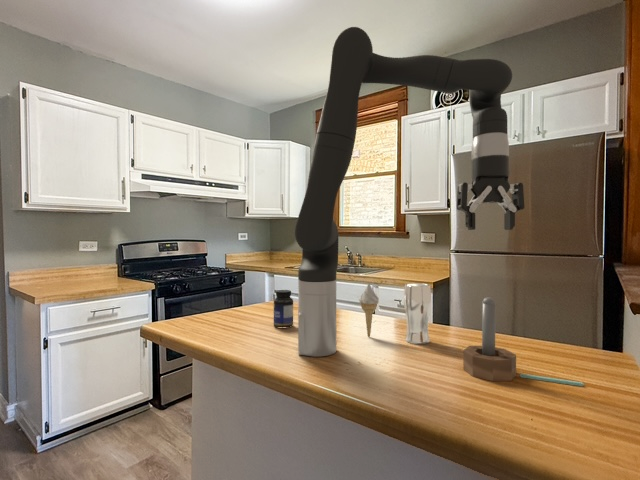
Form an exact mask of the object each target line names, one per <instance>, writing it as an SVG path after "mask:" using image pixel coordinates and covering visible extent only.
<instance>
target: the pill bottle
mask: <svg viewBox="0 0 640 480" xmlns="http://www.w3.org/2000/svg"><path fill="white" fill-rule="evenodd" d="M291 295H292V291H291V290H290V289H277V290H276V291H275V296H276V298H274V299H273V327H274V326H275V327H274V328H276V327H289V328H291V327H290V326H292V325H293V326H294V299H293V298H292V297H291ZM293 326H292V327H293Z"/></svg>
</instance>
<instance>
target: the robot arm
mask: <svg viewBox="0 0 640 480" xmlns="http://www.w3.org/2000/svg"><path fill="white" fill-rule="evenodd" d="M332 45H333V46H332V50H331V60H330V70H329V79H328V85H327V86H328V87H327V90H326V91H327V92H326V94H325V95H326V96H325V99H324V103H323V105H322V110H321V113H320V119H319V121H318V126H317V130H316V134H315V139H314V144H313V151H312V156H311V160H310V161H311V163H310V165H309V172H308V179H307V184H306V185H307V186H306V190H305V193H304V194H305V195H304V197H303V201H302V203H301V204H302V205H301V207H300V211H299V213H298V217H297V220H296V223H295V227H294V237H295V240H296V243H297V244H298V246H299V247H300V248H301V249H302V250H301V251H302V253H301V255H302V256H301V263H300V265H299V268H298V272H297V274H298V277H297V278H298V283H297V284H298V286H297V287H298V288H297V289H298V292H297V293H298V295H297V296H298V301H297V302H298V303H297V304H298V307H297V308H298V311H297V314H298V315H297V319H298V320H297V322H298V323H297V324H298V325H297V326H298V328H297V332H298V333H297V334H298V335H297V336H298V337H297V339H298V345H297V346H298V347H297V348H298V356H306V357H315V358H316V357H319V358H320V357H327V356H328V357H329V356H331V355H334V354H336V352H337V346H338V345H337V342H338V341H337V272H338V266H339V230H338V229H339V228H338V226H337V224H336V222H335V220H334V212H335V205H336V201H337V196H338V193H339V190H340V188H341V186H342V183H343V180H344V178H345V177H346V174H347V172H348V170H349V167H350V164H351V161H352V156H353V151H354V147H355V142H356V137H357V129H358V116H359V99H360V98H359V97H360V93H361V87H362V84H383V85H394V86H395V85H397V86H405V87H406V86H407V87H412V88H419V89H424V90H428V91H433V92H439V93H444V94H455V93H457V92H459V91H461V90H465V91H466V90H468V91H469V93H468V94H469V95H468V99H469V108H470V112H471V117H472V142H471V143H472V144H471V154H470V156H471V180H472V181H471V183H467V182H462V183H459V184H458V185H457V191H456V192H457V194H456V195H457V196H456V210H457V211H461V212H463V213H464V214H465V215H464V216H465V221H464V222H465V224H464V225H465V227H466V228H467V230H468V231H475V230H476V212H475V211H476V210H477V208H478V207H479V206H480V205H481V204H487V203H490V204H498V206H500V207H501V208H502V210H503V211H504V216H503V217H504V218H503V221H504V222H503V223H504V224H503V225H504V228H503V229H504V230H505V231H511V230H512V231H513V229H514V228H515V226H516V213H517V212H518V211H522V210H524V209H525V193H524V184H523V183H522V182H518V183H517V182H516V183H510V182H509V175H510V145H509V144H510V142H509V136H508V113H507V111H506V110H505V109H504V108H503V107H502V102H501V99H502V94H503V93H504V92H505V91H506V90H507V89H508V88H509V86H510V84H511V83H512V79H513V71H512V68H511V67H510V66H509V64H507V63H506V62H504V61H501V60H498V59H495V58H493V59H492V58H476V59H474V58H472V59H461V60H459V59H455V58H452V57H451V58H450V57H445V56H439V55H434V54H433V55H431V54H421V55H413V56H411V55H410V56H406V57H404V56H403V57H390V56H385V55H382V54H378V53H374V51H373V50H374V49H373V48H374V47H373V44H372V40H371V39H370V36H369V34H368V33H367V32H366V31H365V30H364V29H362V28H361V27H358V26H351V27H347V28H345V29H343V31H341V32H340V33H339V34H338V35H337V37H336V39H335V40H334V41H333V44H332ZM470 191H471V192H472V194H473V196H472V198H471V199H470V200H469V201H468V193H470ZM508 192H509V193H510V194H511V197H510V196H509V195H508Z"/></svg>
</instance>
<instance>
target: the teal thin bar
mask: <svg viewBox="0 0 640 480" xmlns="http://www.w3.org/2000/svg"><path fill="white" fill-rule="evenodd" d="M519 376H520V378H522V379H524V378H525V379H530V380H538V381H542V382H550V383H557V384H562V385H563V384H565V385H571V386H577V387H584V382H581V381H574V380H567V379H562V378H561V379H560V378H555V377H548V376H540V375H534V374H533V375H532V374H526V373H520V374H519Z"/></svg>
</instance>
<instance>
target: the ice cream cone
mask: <svg viewBox="0 0 640 480" xmlns="http://www.w3.org/2000/svg"><path fill="white" fill-rule="evenodd" d="M358 301H359V303H360V308H361V309H362V311H363V312H364V314H365V325H366V333H367V337H368V338H370V337H371V331H372V323H373V313H374V312H375V311H376V310H377V306H378V304H379V302H380V301H379V297H378V295H377V294H376V293H375V290H373V288H372V287H371V284H370V283H368V284H367V286H366V287H365V289H364V290H363V292H362V293H361V295H360V297H359V298H358Z"/></svg>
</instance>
